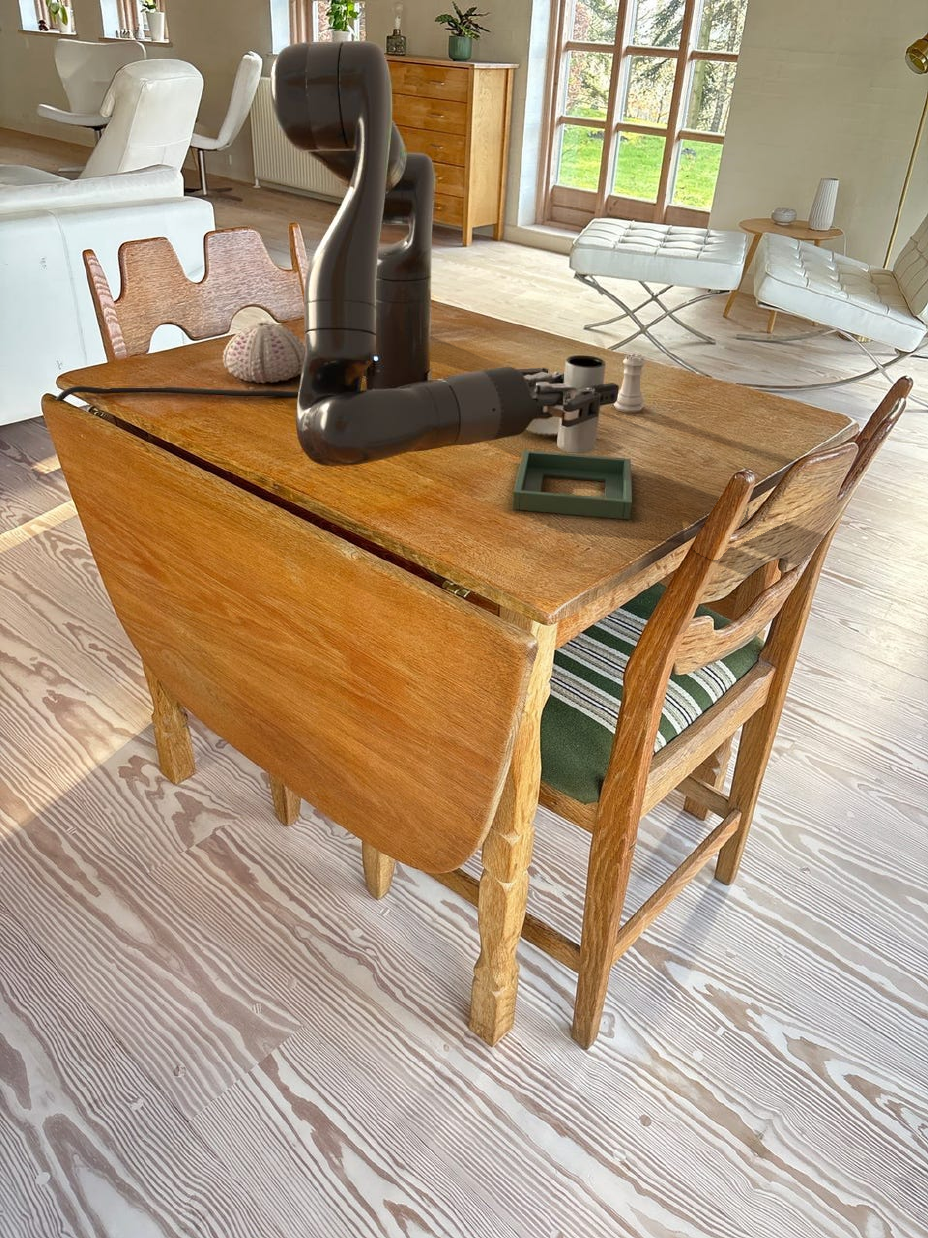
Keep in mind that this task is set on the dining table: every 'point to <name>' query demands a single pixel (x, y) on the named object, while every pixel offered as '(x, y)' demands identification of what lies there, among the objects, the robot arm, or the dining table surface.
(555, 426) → the seashell
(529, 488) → the green square frame
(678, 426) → the dining table surface
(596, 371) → the white hollow cylinder
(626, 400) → the rook chess piece
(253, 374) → the sea urchin shell
